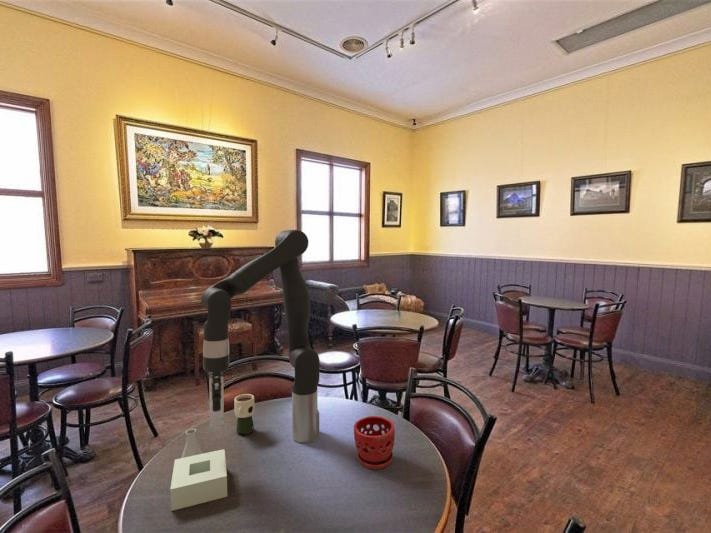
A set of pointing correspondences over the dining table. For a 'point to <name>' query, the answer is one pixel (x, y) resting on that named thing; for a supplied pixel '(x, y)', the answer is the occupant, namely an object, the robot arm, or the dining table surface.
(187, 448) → the flask
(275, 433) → the dining table surface
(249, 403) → the character mug
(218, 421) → the rectangular block
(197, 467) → the well block
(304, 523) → the dining table surface
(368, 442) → the plant pot
